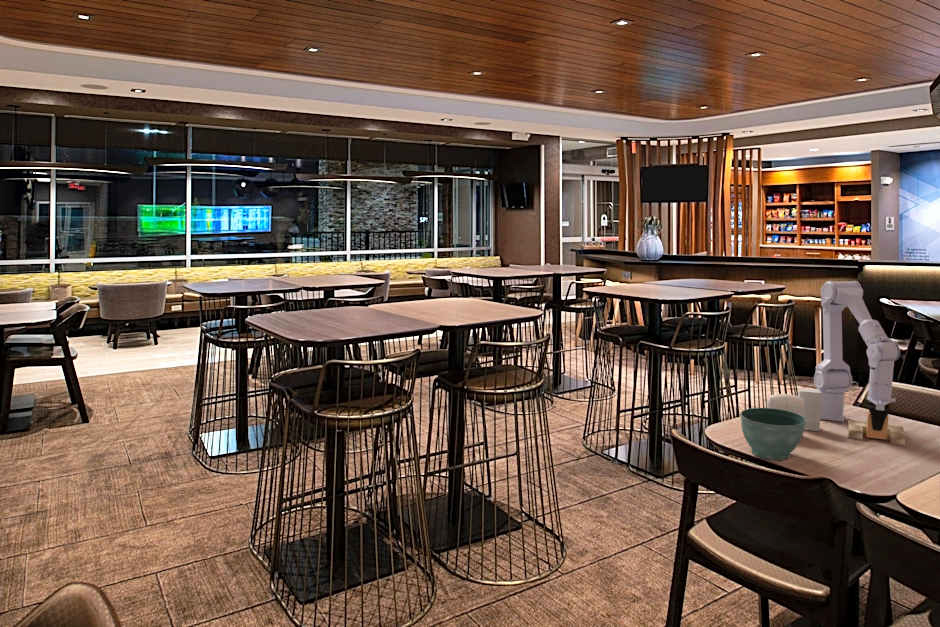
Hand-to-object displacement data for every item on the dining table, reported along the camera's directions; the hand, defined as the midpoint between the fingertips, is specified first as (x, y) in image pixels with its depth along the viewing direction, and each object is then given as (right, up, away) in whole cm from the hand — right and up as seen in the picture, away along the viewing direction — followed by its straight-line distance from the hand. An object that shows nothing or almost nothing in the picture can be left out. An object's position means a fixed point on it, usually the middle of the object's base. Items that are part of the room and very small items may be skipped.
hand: (876, 428), depth 201 cm
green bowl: (-36, -5, -12) cm, 39 cm away
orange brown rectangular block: (0, -3, 0) cm, 3 cm away
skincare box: (-15, -2, +10) cm, 18 cm away
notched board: (+1, -3, +3) cm, 4 cm away
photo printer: (-25, -3, +4) cm, 26 cm away
